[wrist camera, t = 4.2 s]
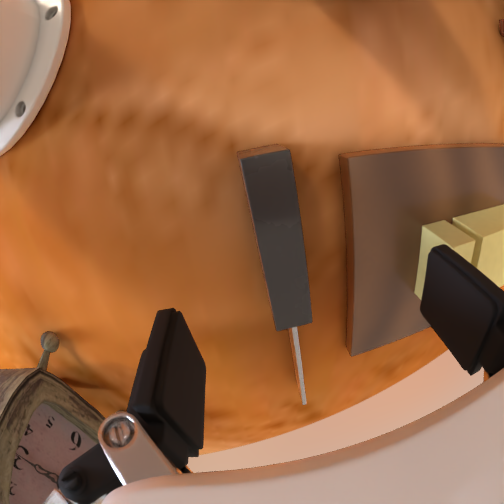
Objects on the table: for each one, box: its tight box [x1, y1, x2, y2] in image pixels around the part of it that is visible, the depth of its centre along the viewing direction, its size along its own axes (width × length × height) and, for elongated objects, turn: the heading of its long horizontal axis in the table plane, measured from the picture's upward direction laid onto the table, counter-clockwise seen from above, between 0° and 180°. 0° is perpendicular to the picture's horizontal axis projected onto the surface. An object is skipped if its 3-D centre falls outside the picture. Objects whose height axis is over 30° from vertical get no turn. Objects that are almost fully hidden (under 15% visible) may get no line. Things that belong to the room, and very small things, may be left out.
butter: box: [452, 204, 504, 287], centre depth 14 cm, size 7×5×3 cm
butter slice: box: [414, 220, 475, 300], centre depth 14 cm, size 2×5×3 cm, turn 12°
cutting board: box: [339, 143, 504, 356], centre depth 16 cm, size 16×14×1 cm
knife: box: [237, 144, 312, 405], centre depth 15 cm, size 2×18×3 cm, turn 12°
